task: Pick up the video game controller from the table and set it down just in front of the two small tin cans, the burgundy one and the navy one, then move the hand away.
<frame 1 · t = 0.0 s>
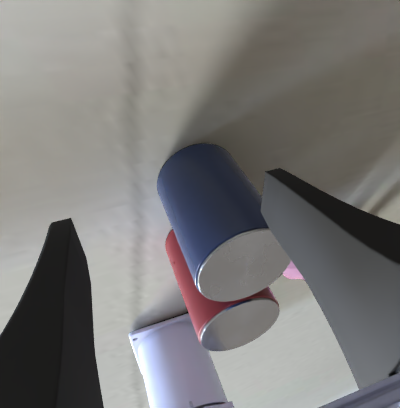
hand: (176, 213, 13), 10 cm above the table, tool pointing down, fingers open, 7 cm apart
tin can navy: (196, 179, 25), on the table
tin can burgundy: (199, 238, 29), on the table
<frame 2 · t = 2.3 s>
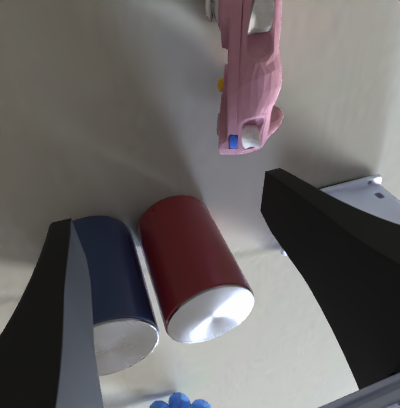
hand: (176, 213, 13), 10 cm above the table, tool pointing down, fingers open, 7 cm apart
tin can navy: (93, 245, 26), on the table
grapes: (174, 389, 49), on the table
tin can burgundy: (173, 224, 28), on the table
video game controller: (235, 48, 20), on the table
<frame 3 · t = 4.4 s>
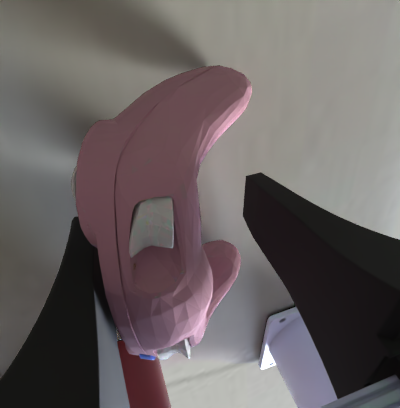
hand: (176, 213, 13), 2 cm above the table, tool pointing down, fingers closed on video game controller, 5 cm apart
tin can burgundy: (109, 367, 21), on the table
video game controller: (163, 184, 14), on the table, touching gripper
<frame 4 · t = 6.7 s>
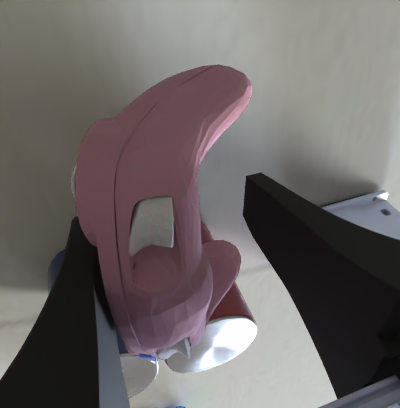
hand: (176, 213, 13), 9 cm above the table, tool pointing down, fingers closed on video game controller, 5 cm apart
tin can navy: (91, 268, 26), on the table
grapes: (177, 403, 49), on the table
tin can burgundy: (174, 246, 27), on the table
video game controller: (163, 184, 14), point 7 cm above the table, touching gripper
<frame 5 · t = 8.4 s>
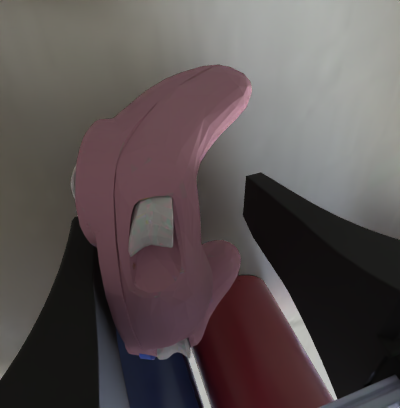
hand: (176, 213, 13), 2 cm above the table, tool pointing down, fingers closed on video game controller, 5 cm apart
tin can navy: (129, 336, 21), on the table
tin can burgundy: (225, 305, 23), on the table
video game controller: (163, 184, 14), point 1 cm above the table, touching gripper
when the fingers open (2 cm above the table, at t = 9.2 s): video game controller stays where it is, on the table.
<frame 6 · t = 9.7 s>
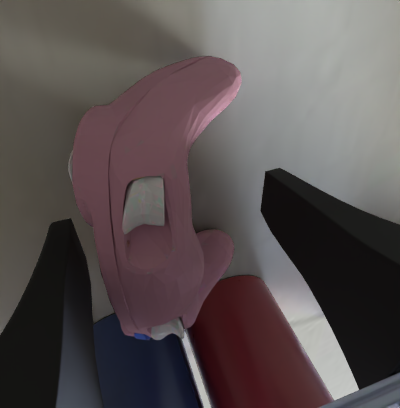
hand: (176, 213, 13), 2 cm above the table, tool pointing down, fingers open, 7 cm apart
tin can navy: (129, 336, 21), on the table
tin can burgundy: (225, 305, 23), on the table
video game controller: (158, 173, 14), on the table
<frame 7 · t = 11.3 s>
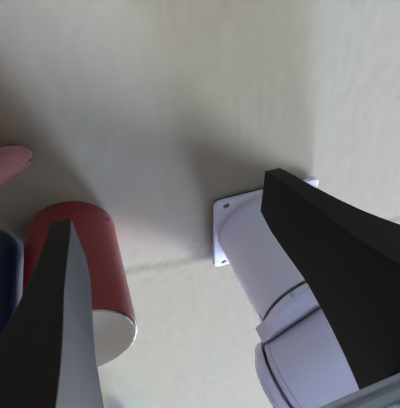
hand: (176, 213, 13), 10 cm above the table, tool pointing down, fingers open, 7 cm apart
tin can burgundy: (71, 234, 25), on the table
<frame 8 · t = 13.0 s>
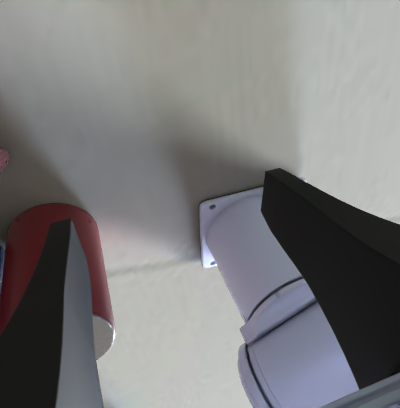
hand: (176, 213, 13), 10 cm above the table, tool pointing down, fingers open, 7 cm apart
tin can burgundy: (54, 236, 25), on the table
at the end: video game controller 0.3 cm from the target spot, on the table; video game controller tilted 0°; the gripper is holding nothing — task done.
